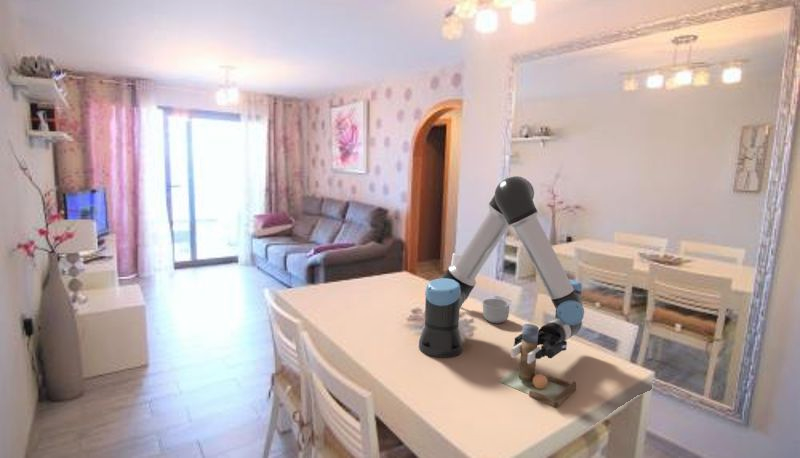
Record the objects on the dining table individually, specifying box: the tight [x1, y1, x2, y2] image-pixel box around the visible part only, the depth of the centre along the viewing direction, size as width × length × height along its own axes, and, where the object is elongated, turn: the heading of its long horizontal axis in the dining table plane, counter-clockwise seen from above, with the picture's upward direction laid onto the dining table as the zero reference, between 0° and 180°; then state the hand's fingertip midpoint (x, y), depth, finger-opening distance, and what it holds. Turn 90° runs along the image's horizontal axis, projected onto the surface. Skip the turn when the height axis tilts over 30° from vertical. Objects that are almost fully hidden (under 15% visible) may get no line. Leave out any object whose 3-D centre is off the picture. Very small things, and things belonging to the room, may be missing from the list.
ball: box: [533, 373, 548, 389], centre depth 120 cm, size 4×4×4 cm
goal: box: [498, 368, 578, 409], centre depth 121 cm, size 18×13×2 cm
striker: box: [519, 323, 540, 382], centre depth 122 cm, size 4×4×16 cm
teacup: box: [482, 297, 510, 324], centre depth 173 cm, size 14×11×8 cm
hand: (520, 355), depth 118 cm, fingers closed on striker, 4 cm apart
